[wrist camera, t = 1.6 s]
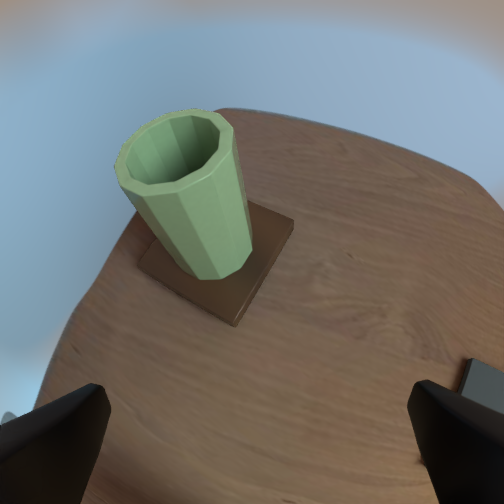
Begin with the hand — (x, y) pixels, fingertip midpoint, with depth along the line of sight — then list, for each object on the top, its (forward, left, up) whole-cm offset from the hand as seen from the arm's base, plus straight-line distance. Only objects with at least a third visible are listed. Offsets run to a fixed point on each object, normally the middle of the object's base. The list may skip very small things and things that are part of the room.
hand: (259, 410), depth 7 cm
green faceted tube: (+8, +10, -13) cm, 18 cm away
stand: (+8, +10, -14) cm, 19 cm away
